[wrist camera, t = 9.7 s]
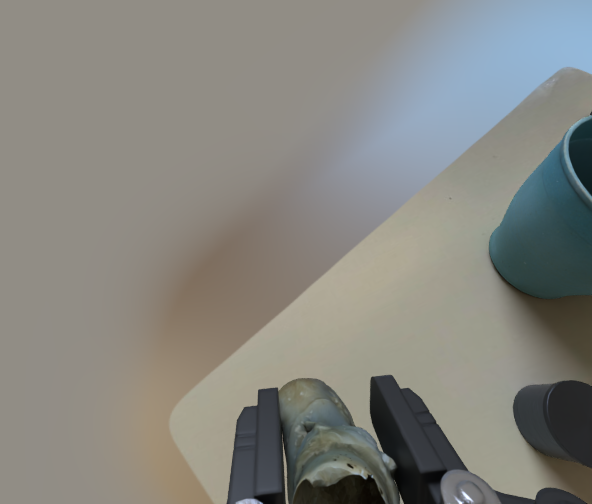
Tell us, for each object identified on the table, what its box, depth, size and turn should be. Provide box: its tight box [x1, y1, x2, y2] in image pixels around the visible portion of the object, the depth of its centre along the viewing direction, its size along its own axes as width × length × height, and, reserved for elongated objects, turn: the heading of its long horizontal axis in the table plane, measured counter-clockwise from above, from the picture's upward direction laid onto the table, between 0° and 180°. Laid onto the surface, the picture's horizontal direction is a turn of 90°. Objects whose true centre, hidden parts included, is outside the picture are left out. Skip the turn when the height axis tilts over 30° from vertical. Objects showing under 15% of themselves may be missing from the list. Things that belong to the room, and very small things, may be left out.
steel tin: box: [513, 380, 592, 468], centre depth 30 cm, size 7×7×5 cm
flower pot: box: [489, 115, 592, 299], centre depth 34 cm, size 18×18×17 cm
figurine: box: [278, 378, 400, 504], centre depth 15 cm, size 5×7×18 cm
